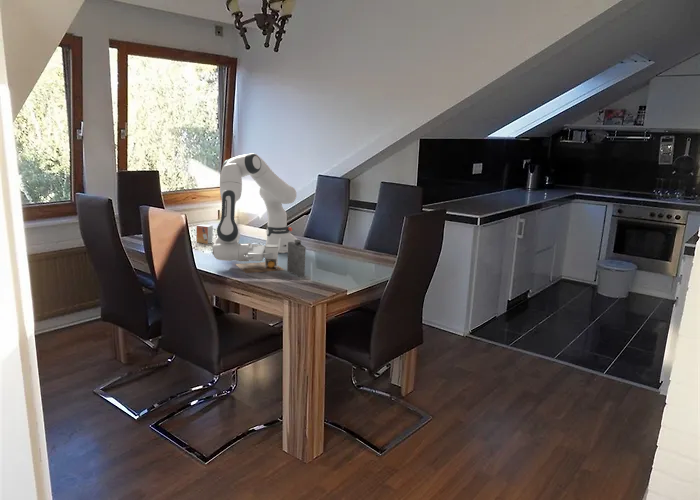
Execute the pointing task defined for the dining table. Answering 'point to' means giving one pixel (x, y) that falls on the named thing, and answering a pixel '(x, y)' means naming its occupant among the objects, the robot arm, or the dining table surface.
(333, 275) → the dining table surface
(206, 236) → the small box
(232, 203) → the robot arm
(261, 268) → the tan flat board
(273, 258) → the white carton
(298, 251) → the flask
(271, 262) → the orange ball
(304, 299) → the dining table surface
